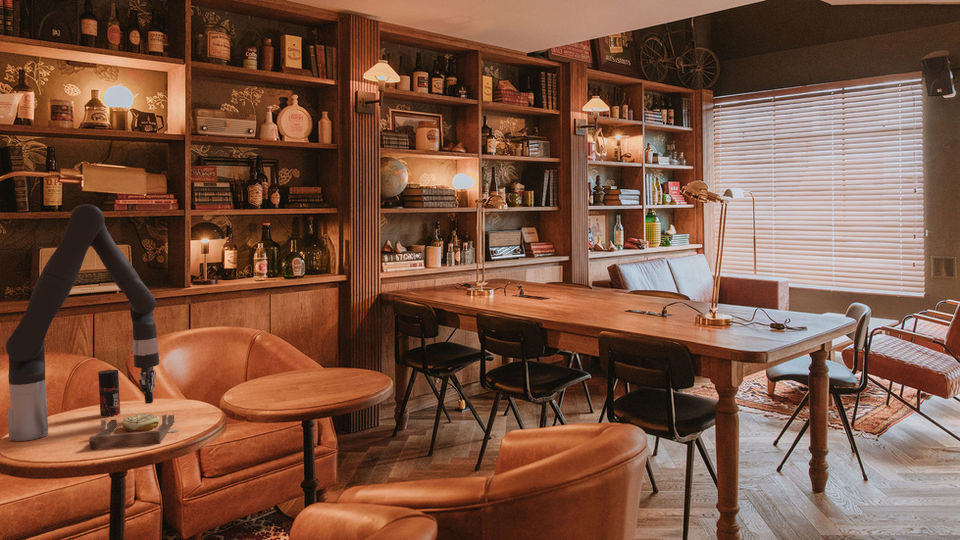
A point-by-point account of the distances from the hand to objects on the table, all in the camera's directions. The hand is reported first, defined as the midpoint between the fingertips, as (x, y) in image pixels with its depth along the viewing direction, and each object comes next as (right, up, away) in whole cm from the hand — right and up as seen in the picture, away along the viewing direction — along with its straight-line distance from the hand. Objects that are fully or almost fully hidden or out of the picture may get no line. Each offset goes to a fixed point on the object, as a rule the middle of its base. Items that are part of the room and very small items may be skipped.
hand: (149, 402), depth 220 cm
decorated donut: (+2, -6, -10) cm, 12 cm away
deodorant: (-16, -5, +6) cm, 18 cm away
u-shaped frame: (+4, -6, -18) cm, 19 cm away
